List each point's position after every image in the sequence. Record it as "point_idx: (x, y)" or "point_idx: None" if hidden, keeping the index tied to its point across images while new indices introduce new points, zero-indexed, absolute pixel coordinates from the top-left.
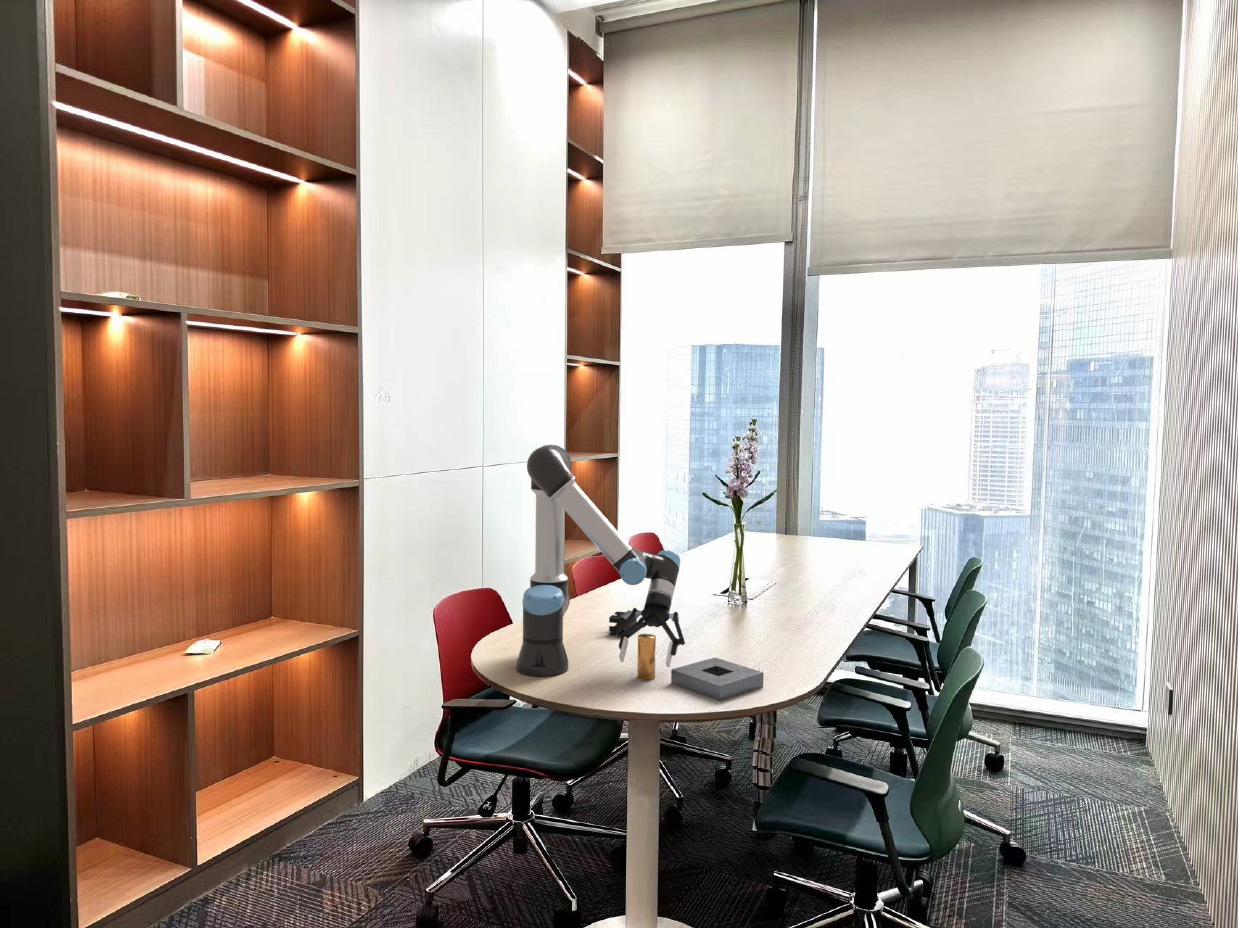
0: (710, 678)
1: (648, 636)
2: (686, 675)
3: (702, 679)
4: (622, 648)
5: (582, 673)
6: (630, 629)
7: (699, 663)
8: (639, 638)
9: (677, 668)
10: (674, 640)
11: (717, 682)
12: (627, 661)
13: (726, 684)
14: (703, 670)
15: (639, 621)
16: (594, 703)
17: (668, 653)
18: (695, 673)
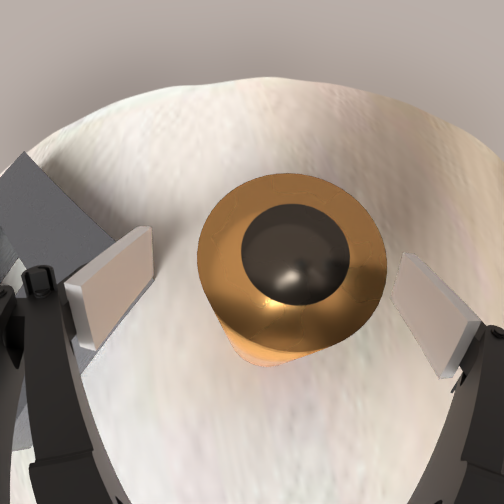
0: (24, 197)
1: (275, 237)
2: (83, 212)
3: (46, 179)
4: (430, 274)
5: (480, 298)
6: (492, 372)
7: None
8: (349, 203)
9: None
10: (45, 266)
11: (19, 172)
12: (384, 500)
13: (7, 170)
14: (23, 290)
15: (486, 469)
16: (343, 96)
17: (122, 245)
18: (51, 230)
